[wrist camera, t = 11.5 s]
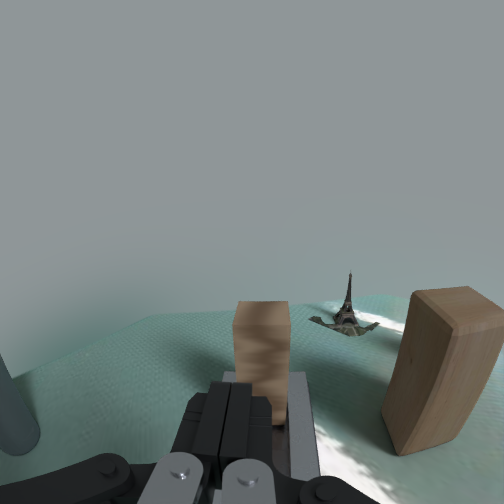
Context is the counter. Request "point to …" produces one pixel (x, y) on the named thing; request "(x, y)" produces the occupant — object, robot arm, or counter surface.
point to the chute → (292, 433)
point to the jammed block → (264, 351)
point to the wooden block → (441, 366)
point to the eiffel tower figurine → (346, 318)
